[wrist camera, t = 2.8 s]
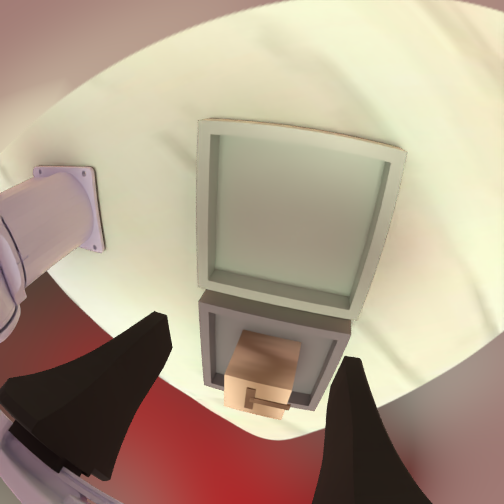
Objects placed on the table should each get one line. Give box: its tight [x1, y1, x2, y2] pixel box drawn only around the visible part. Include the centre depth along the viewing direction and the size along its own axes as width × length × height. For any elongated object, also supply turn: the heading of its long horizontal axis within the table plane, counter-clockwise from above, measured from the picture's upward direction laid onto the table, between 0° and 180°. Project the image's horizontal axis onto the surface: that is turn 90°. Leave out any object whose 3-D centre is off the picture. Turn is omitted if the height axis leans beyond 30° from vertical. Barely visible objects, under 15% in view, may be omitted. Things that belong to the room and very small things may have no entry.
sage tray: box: [196, 118, 407, 321], centre depth 18 cm, size 12×12×2 cm
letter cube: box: [224, 330, 301, 420], centre depth 22 cm, size 5×5×5 cm
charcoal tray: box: [198, 289, 351, 411], centre depth 24 cm, size 12×12×2 cm
